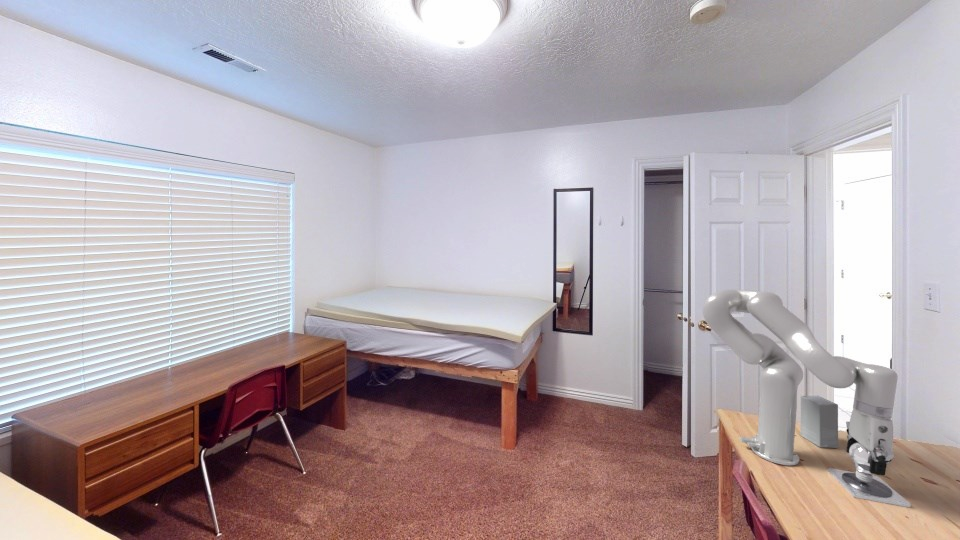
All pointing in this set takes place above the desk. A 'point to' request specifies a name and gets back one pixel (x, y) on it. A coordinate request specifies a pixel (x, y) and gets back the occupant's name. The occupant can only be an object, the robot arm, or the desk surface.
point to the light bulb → (862, 461)
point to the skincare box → (819, 421)
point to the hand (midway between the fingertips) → (864, 463)
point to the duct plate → (868, 488)
